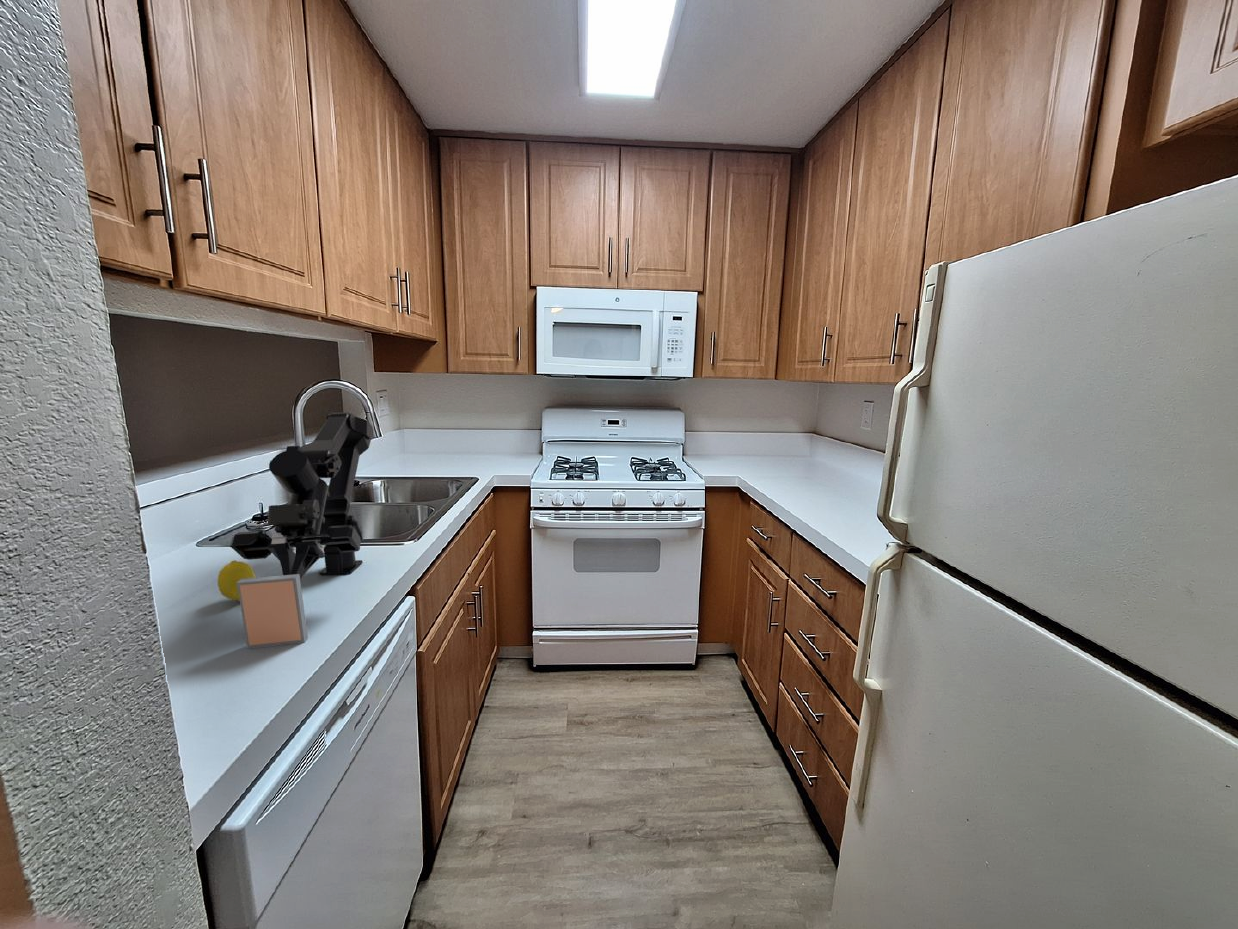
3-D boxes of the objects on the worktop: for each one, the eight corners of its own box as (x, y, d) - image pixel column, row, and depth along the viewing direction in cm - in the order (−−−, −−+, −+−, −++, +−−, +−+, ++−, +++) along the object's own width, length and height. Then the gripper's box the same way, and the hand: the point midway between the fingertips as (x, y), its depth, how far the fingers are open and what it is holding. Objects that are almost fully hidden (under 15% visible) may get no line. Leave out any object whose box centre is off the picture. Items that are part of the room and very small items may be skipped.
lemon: (253, 591, 97) (247, 553, 95) (262, 599, 94) (256, 559, 92) (217, 601, 93) (210, 561, 91) (226, 610, 89) (218, 569, 88)
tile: (252, 644, 78) (241, 578, 76) (308, 638, 80) (299, 574, 78) (247, 649, 77) (236, 583, 75) (304, 643, 79) (295, 578, 77)
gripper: (227, 486, 83) (198, 575, 74) (349, 480, 87) (335, 563, 78) (256, 518, 92) (234, 600, 83) (366, 511, 96) (355, 589, 87)
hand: (289, 588), depth 83 cm, fingers closed
